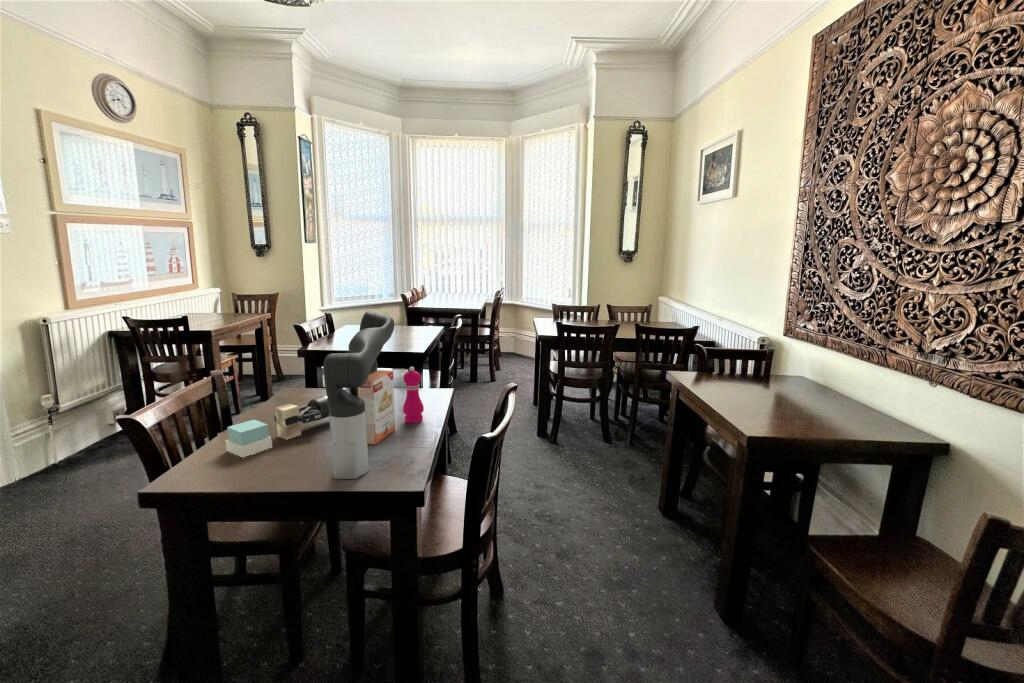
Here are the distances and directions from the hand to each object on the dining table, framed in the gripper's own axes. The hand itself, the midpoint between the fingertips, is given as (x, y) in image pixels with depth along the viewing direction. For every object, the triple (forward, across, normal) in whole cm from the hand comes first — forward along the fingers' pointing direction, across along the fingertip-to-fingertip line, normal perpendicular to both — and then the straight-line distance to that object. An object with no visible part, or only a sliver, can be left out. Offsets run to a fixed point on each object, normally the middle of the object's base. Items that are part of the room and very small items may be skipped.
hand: (280, 420), depth 151 cm
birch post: (-3, 0, +6) cm, 7 cm away
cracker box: (-18, +26, +6) cm, 32 cm away
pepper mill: (-35, +25, +6) cm, 43 cm away
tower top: (+10, 0, +2) cm, 10 cm away
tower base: (+10, 0, +6) cm, 12 cm away
